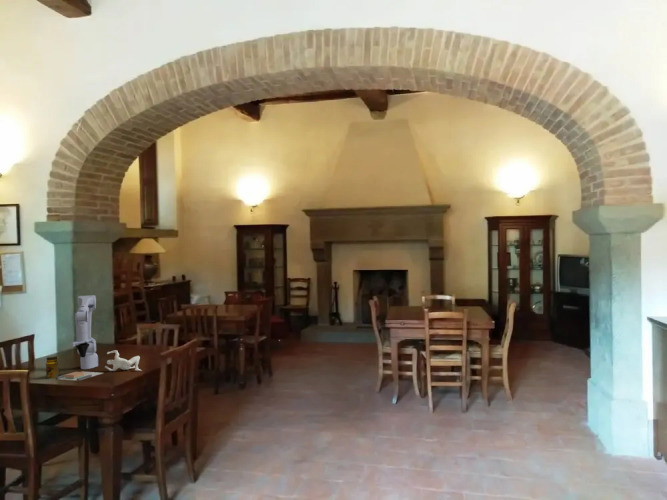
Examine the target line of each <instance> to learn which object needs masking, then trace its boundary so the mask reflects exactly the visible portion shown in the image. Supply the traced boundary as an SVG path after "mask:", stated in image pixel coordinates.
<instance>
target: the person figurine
mask: <svg viewBox="0 0 667 500" xmlns="http://www.w3.org/2000/svg"><path fill="white" fill-rule="evenodd" d="M113 353H115V355H114V359H108V360H107V361H106V364H107V365H112V366H113V367H112V368H110V367H109V366H107V365H105V366H104V369H107V370H108V371H109V372H116V371H117V369H119V368H120V370H123V371H126V370H130V369H134V371H139V372H141V371H143V370H142V369H140V368H139V366H138V365H139V363H140V359H141V357H140V355H136V356H133V357H131V358H130V359H129V360H128V359H126V358H123V357H120V353H119V352H118V350H115V349H114V350H112V351H107V352H106V354H107V355H109V354H113ZM133 364H134V365H133Z"/></svg>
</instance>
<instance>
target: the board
mask: <svg viewBox="0 0 667 500" xmlns="http://www.w3.org/2000/svg"><path fill="white" fill-rule="evenodd" d="M83 372H84V376H82V377H78V378H75V379H69V378H65V375H66V374H67V373H65V374H62V375H59V376H58V377H56V378H55V379H56V380H62V381H63V380H66V381H75V382H76V381H77V382H78V381H82V380H85V379H89V378H92V377H96V376H99V375H102V374H103V372H97V371H95V372H94V371H83Z"/></svg>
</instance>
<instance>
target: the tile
mask: <svg viewBox="0 0 667 500" xmlns="http://www.w3.org/2000/svg"><path fill="white" fill-rule="evenodd" d="M84 372H85V371H73V372H70V373H65V374H66V375H65V374H64V375H65V378H69V379H75V378H78V377H82V376H84Z"/></svg>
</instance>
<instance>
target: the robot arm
mask: <svg viewBox="0 0 667 500" xmlns="http://www.w3.org/2000/svg"><path fill="white" fill-rule="evenodd" d="M77 306H78V307H77V312H74V321H75V328H76V330H75V331H76V341H75V340H74V341H73V342H70V347H76V349H77V354H78V355H79V356H80V369H81V370H89V369H94V368H96V367H99V356H98V354H97V353H96V352H97V341H96V339H95V338H94V337H92V315H93V311H95V310H96V307H97V296H96V295H95V294H94V295H93V294H92V295H78V296H77Z"/></svg>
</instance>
